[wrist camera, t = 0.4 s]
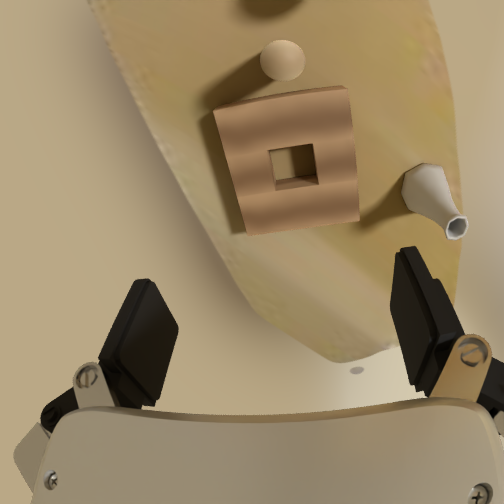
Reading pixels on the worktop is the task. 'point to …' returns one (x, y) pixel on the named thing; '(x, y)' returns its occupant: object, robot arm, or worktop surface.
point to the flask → (433, 199)
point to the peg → (282, 60)
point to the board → (285, 135)
